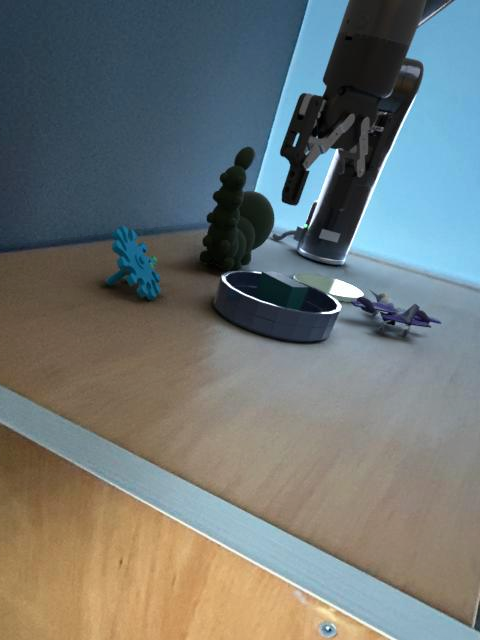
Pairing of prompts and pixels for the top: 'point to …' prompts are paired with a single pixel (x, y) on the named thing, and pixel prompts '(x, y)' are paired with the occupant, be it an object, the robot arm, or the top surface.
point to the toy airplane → (394, 312)
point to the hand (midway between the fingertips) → (312, 206)
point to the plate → (330, 286)
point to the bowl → (275, 310)
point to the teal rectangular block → (280, 290)
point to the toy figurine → (236, 218)
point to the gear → (134, 264)
